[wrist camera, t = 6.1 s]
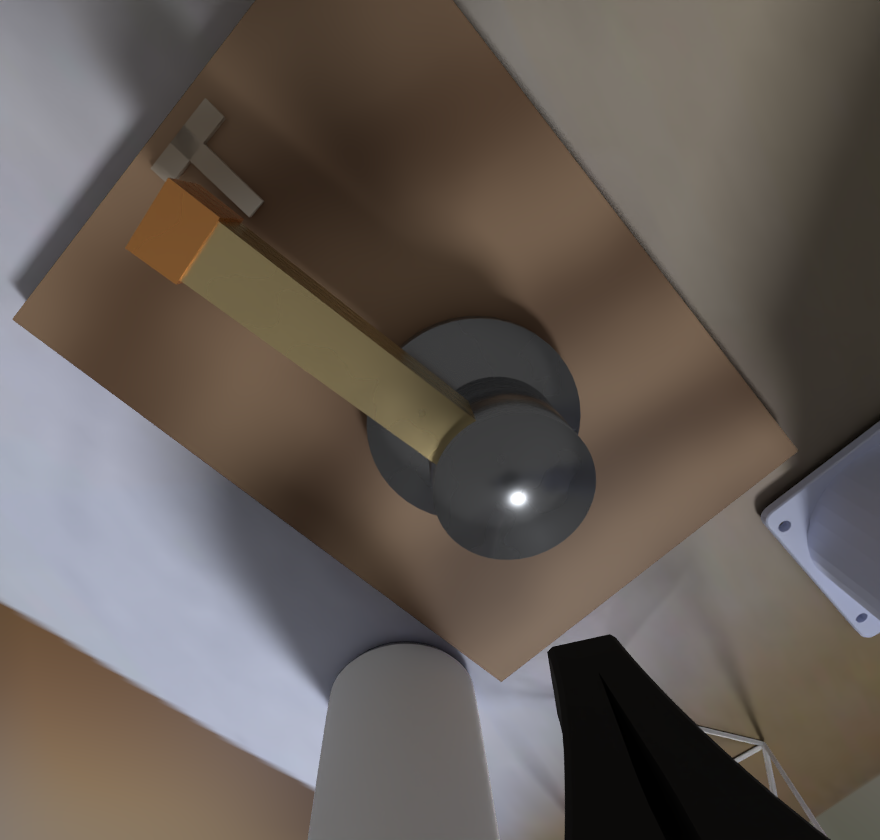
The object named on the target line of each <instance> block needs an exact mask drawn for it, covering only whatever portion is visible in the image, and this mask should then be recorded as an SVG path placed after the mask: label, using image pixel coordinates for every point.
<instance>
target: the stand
mask: <svg viewBox="0 0 880 840" xmlns="http://www.w3.org/2000/svg"><path fill="white" fill-rule="evenodd" d="M167 178H173V179H177V180H182V181H186V182H191V183H196V184H200V185H201V186H203V187H204V188H205V189H206V190H208V191H209V192H210V193H211V194H213V195H214V196H215V197H217V198H218V199H219V200H220V201H222V202H223V203H224V204H225V205H227V206H228V207H229V208H230V209H232V210H233V211H234V212H236V213H237V214H238V215H239V216H241V217H242V218H243V221H242V222H241V223H242V224H243V225H244V226H246V227H247V228H248V229H250V230H251V231H252V232H253V233H255V234H256V235H257V236H259V237H260V238H261V239H262V240H264V241H265V242H266V243H267V244H269V245H270V246H271V247H273V248H274V249H275V250H276V251H278V252H279V253H280V254H281V255H283V256H284V257H285V258H287V259H288V260H289V261H290V262H292V263H293V264H294V265H296V266H297V267H298V268H299V269H301V270H302V271H303V272H304V273H306V274H307V275H308V276H310V277H311V278H312V279H313V280H315V281H316V282H317V283H318V284H320V285H321V286H322V287H324V288H325V289H326V290H327V291H329V292H330V293H331V294H332V295H334V296H335V297H336V298H338V299H339V300H340V301H341V302H343V303H344V304H345V305H347V306H348V307H349V308H350V309H352V310H353V311H354V312H355V313H357V314H358V315H359V316H361V317H362V318H363V319H364V320H366V321H367V322H368V323H369V324H371V325H372V326H373V327H375V328H376V329H377V330H378V331H380V332H381V333H382V334H384V335H385V336H386V337H387V338H389V339H390V340H391V341H392V342H394V343H395V344H396V345H398V346H400V345H402V344H403V343H404V342H405V341H407V340H408V339H409V338H410V337H412V336H413V335H415V334H416V333H418V332H419V331H421V330H423V329H425V328H427V327H429V326H431V325H433V324H435V323H438V322H441V321H445V320H448V319H452V318H457V317H463V316H488V317H496V318H500V319H504V320H508V321H511V322H514V323H516V324H519V325H521V326H523V327H525V328H527V329H528V330H530V331H532V332H534V333H535V334H536V335H537V336H539V337H540V338H541V339H543V340H544V341H545V342H547V343H548V344H549V345H550V346H551V347H552V348H553V349H554V350H555V351H556V352H557V353H558V354H559V355H560V357H561V358H562V359H563V361H564V362H565V363H566V365H567V367H568V369H569V370H570V372H571V374H572V376H573V379H574V381H575V384H576V387H577V390H578V395H579V400H580V412H581V417H580V429H579V433H578V436H579V437H580V438H581V440H582V441H583V442H584V443H585V445H586V446H587V448H588V450H589V452H590V454H591V456H592V459H593V462H594V466H595V471H596V488H595V494H594V498H593V502H592V504H591V507H590V509H589V511H588V513H587V515H586V517H585V518H584V520H583V521H582V523H581V524H580V525H579V527H578V528H577V529H576V530H575V531H574V532H573V533H572V534H571V535H570V536H569V537H568V538H566V539H565V540H564V541H563V542H561V543H560V544H558V545H557V546H555V547H553V548H551V549H550V550H548V551H546V552H543V553H541V554H538V555H535V556H532V557H528V558H523V559H515V560H498V559H492V558H487V557H483V556H480V555H477V554H475V553H472V552H470V551H468V550H467V549H465V548H463V547H462V546H460V545H459V544H458V543H456V542H455V541H454V540H453V539H452V538H451V537H450V536H449V535H448V534H447V532H446V531H445V530H444V528H443V527H442V525H441V523H440V521H439V519H438V516H437V515H433V514H430V513H428V512H425V511H423V510H421V509H419V508H417V507H415V506H413V505H412V504H410V503H408V502H407V501H406V500H404V499H403V498H402V497H401V496H399V495H398V494H397V493H396V492H395V491H394V490H393V489H392V488H391V487H390V486H389V485H388V483H387V482H386V481H385V479H384V478H383V477H382V475H381V474H380V472H379V470H378V468H377V466H376V465H375V462H374V460H373V457H372V455H371V452H370V448H369V443H368V438H367V415H366V414H365V413H363V412H362V411H361V410H359V409H358V408H357V407H355V406H354V405H352V404H351V403H350V402H348V401H347V400H345V399H344V398H343V397H341V396H340V395H338V394H337V393H336V392H334V391H333V390H331V389H330V388H329V387H327V386H326V385H325V384H323V383H322V382H320V381H319V380H318V379H316V378H315V377H313V376H312V375H311V374H309V373H308V372H306V371H305V370H304V369H302V368H301V367H300V366H298V365H297V364H295V363H294V362H293V361H291V360H290V359H288V358H287V357H286V356H284V355H283V354H281V353H280V352H279V351H277V350H276V349H274V348H273V347H272V346H270V345H269V344H268V343H266V342H265V341H263V340H262V339H261V338H259V337H258V336H256V335H255V334H254V333H252V332H251V331H249V330H248V329H247V328H245V327H244V326H243V325H241V324H240V323H238V322H237V321H236V320H234V319H233V318H231V317H230V316H229V315H227V314H226V313H224V312H223V311H222V310H220V309H219V308H217V307H216V306H215V305H213V304H212V303H211V302H209V301H208V300H206V299H205V298H204V297H202V296H201V295H199V294H198V293H197V292H195V291H194V290H192V289H191V288H190V287H188V286H187V285H186V284H184V283H180V284H174V283H173V282H172V281H170V280H169V279H167V278H166V277H165V276H163V275H162V274H160V273H159V272H158V271H156V270H155V269H153V268H152V267H151V266H149V265H148V264H146V263H145V262H144V261H142V260H141V259H139V258H138V257H137V256H135V255H134V254H132V253H131V252H130V251H128V250H127V249H125V247H126V246H127V244H128V242H129V241H130V239H131V237H132V236H133V234H134V232H135V231H136V229H137V228H138V226H139V224H140V223H141V221H142V219H143V218H144V216H145V214H146V213H147V211H148V210H149V208H150V206H151V205H152V203H153V201H154V200H155V198H156V196H157V195H158V193H159V192H160V190H161V188H162V187H163V185H164V183H165V182H166V180H167ZM12 320H14V321H15V322H16V323H18V324H19V325H20V326H22V327H23V328H25V329H26V330H27V331H29V332H30V333H31V334H33V335H34V336H35V337H37V338H38V339H39V340H41V341H42V342H43V343H45V344H46V345H47V346H49V347H50V348H51V349H53V350H54V351H56V352H57V353H58V354H60V355H61V356H62V357H64V358H65V359H66V360H68V361H69V362H70V363H72V364H73V365H74V366H76V367H77V368H78V369H80V370H81V371H83V372H84V373H85V374H87V375H88V376H89V377H91V378H92V379H93V380H95V381H96V382H97V383H99V384H100V385H101V386H103V387H104V388H105V389H107V390H108V391H109V392H111V393H112V394H114V395H115V396H116V397H118V398H119V399H120V400H122V401H123V402H124V403H126V404H127V405H128V406H130V407H131V408H132V409H134V410H135V411H136V412H138V413H139V414H140V415H142V416H143V417H145V418H146V419H147V420H149V421H150V422H151V423H153V424H154V425H155V426H157V427H158V428H159V429H161V430H162V431H163V432H165V433H166V434H167V435H169V436H170V437H172V438H173V439H174V440H176V441H177V442H178V443H180V444H181V445H182V446H184V447H185V448H186V449H188V450H189V451H190V452H192V453H193V454H194V455H196V456H197V457H198V458H200V459H201V460H203V461H204V462H205V463H207V464H208V465H209V466H211V467H212V468H213V469H215V470H216V471H217V472H219V473H220V474H221V475H223V476H224V477H225V478H227V479H228V480H230V481H231V482H232V483H234V484H235V485H236V486H238V487H239V488H240V489H242V490H243V491H244V492H246V493H247V494H248V495H250V496H251V497H252V498H254V499H255V500H256V501H258V502H259V503H261V504H262V505H263V506H265V507H266V508H267V509H269V510H270V511H271V512H273V513H274V514H275V515H277V516H278V517H279V518H281V519H282V520H283V521H285V522H286V523H287V524H289V525H290V526H292V527H293V528H294V529H296V530H297V531H298V532H300V533H301V534H302V535H304V536H305V537H306V538H308V539H309V540H310V541H312V542H313V543H314V544H316V545H317V546H319V547H320V548H321V549H323V550H324V551H325V552H327V553H328V554H329V555H331V556H332V557H333V558H335V559H336V560H337V561H339V562H340V563H341V564H343V565H344V566H345V567H347V568H348V569H350V570H351V571H352V572H354V573H355V574H356V575H358V576H359V577H360V578H362V579H363V580H364V581H366V582H367V583H368V584H370V585H371V586H372V587H374V588H375V589H377V590H378V591H379V592H381V593H382V594H383V595H385V596H386V597H387V598H389V599H390V600H391V601H393V602H394V603H395V604H397V605H398V606H399V607H401V608H402V609H403V610H405V611H406V612H408V613H409V614H410V615H412V616H413V617H414V618H416V619H417V620H418V621H420V622H421V623H422V624H424V625H425V626H426V627H428V628H429V629H430V630H432V631H433V632H434V633H436V634H437V635H439V636H440V637H441V638H443V639H444V640H445V641H447V642H448V643H449V644H451V645H452V646H453V647H455V648H456V649H457V650H459V651H460V652H461V653H463V654H464V655H466V656H467V657H468V658H470V659H471V660H472V661H474V662H475V663H476V664H478V665H479V666H480V667H482V668H483V669H484V670H486V671H487V672H488V673H490V674H491V675H492V676H494V677H495V678H497V679H498V680H499V681H501V682H502V681H503V680H504V679H506V678H507V677H508V676H510V675H511V674H512V673H513V672H515V671H516V670H517V669H519V668H520V667H521V666H522V665H524V664H525V663H526V662H528V661H529V660H530V659H531V658H533V657H534V656H535V655H537V654H538V653H539V652H540V651H542V650H543V649H544V648H546V647H547V646H548V645H549V644H551V643H552V642H553V641H555V640H556V639H557V638H558V637H560V636H561V635H562V634H564V633H565V632H566V631H567V630H569V629H570V628H571V627H573V626H574V625H575V624H577V623H578V622H579V621H580V620H582V619H583V618H584V617H586V616H587V615H588V614H589V613H591V612H592V611H593V610H595V609H596V608H597V607H598V606H600V605H601V604H602V603H604V602H605V601H606V600H607V599H609V598H610V597H611V596H613V595H614V594H615V593H616V592H618V591H619V590H620V589H622V588H623V587H624V586H625V585H627V584H628V583H629V582H631V581H632V580H633V579H634V578H636V577H637V576H638V575H640V574H641V573H642V572H643V571H645V570H646V569H647V568H649V567H650V566H651V565H652V564H654V563H655V562H656V561H658V560H659V559H660V558H661V557H663V556H664V555H665V554H667V553H668V552H669V551H670V550H672V549H673V548H674V547H676V546H677V545H678V544H679V543H681V542H682V541H683V540H685V539H686V538H687V537H688V536H690V535H691V534H692V533H694V532H695V531H696V530H697V529H699V528H700V527H701V526H703V525H704V524H705V523H706V522H708V521H709V520H710V519H712V518H713V517H714V516H715V515H717V514H718V513H719V512H721V511H722V510H723V509H724V508H726V507H727V506H728V505H730V504H731V503H732V502H733V501H735V500H736V499H737V498H739V497H740V496H741V495H742V494H744V493H745V492H746V491H748V490H749V489H750V488H751V487H753V486H754V485H755V484H757V483H758V482H759V481H760V480H762V479H763V478H764V477H766V476H767V475H768V474H769V473H771V472H772V471H773V470H775V469H776V468H777V467H778V466H780V465H781V464H782V463H784V462H785V461H786V460H787V459H789V458H790V457H791V456H793V455H794V454H795V453H796V452H798V450H797V448H796V447H795V446H794V444H793V443H792V442H791V441H790V439H789V438H788V437H787V435H786V434H785V433H784V431H783V430H782V429H781V428H780V426H779V425H778V424H777V422H776V421H775V420H774V418H773V417H772V416H771V415H770V413H769V412H768V411H767V409H766V408H765V407H764V405H763V404H762V403H761V401H760V400H759V399H758V398H757V396H756V395H755V394H754V392H753V391H752V390H751V388H750V387H749V386H748V385H747V383H746V382H745V381H744V379H743V378H742V377H741V375H740V374H739V373H738V372H737V370H736V369H735V368H734V366H733V365H732V364H731V362H730V361H729V360H728V358H727V357H726V356H725V355H724V353H723V352H722V351H721V349H720V348H719V347H718V345H717V344H716V343H715V342H714V340H713V339H712V338H711V336H710V335H709V334H708V332H707V331H706V330H705V328H704V327H703V326H702V325H701V323H700V322H699V321H698V319H697V318H696V317H695V315H694V314H693V313H692V312H691V310H690V309H689V308H688V306H687V305H686V304H685V302H684V301H683V300H682V299H681V297H680V296H679V295H678V293H677V292H676V291H675V289H674V288H673V287H672V285H671V284H670V283H669V282H668V280H667V279H666V278H665V276H664V275H663V274H662V272H661V271H660V270H659V269H658V267H657V266H656V265H655V263H654V262H653V261H652V259H651V258H650V257H649V255H648V254H647V253H646V252H645V250H644V249H643V248H642V246H641V245H640V244H639V242H638V241H637V240H636V239H635V237H634V236H633V235H632V233H631V232H630V231H629V229H628V228H627V227H626V226H625V224H624V223H623V222H622V220H621V219H620V218H619V216H618V215H617V214H616V212H615V211H614V210H613V209H612V207H611V206H610V205H609V203H608V202H607V201H606V199H605V198H604V197H603V196H602V194H601V193H600V192H599V190H598V189H597V188H596V186H595V185H594V184H593V183H592V181H591V180H590V179H589V177H588V176H587V175H586V173H585V172H584V171H583V169H582V168H581V167H580V166H579V164H578V163H577V162H576V160H575V159H574V158H573V156H572V155H571V154H570V153H569V151H568V150H567V149H566V147H565V146H564V145H563V143H562V142H561V141H560V139H559V138H558V137H557V136H556V134H555V133H554V132H553V130H552V129H551V128H550V126H549V125H548V124H547V123H546V121H545V120H544V119H543V117H542V116H541V115H540V113H539V112H538V111H537V110H536V108H535V107H534V106H533V104H532V103H531V102H530V100H529V99H528V98H527V96H526V95H525V94H524V93H523V91H522V90H521V89H520V87H519V86H518V85H517V83H516V82H515V81H514V80H513V78H512V77H511V76H510V74H509V73H508V72H507V70H506V69H505V68H504V66H503V65H502V64H501V63H500V61H499V60H498V59H497V57H496V56H495V55H494V53H493V52H492V51H491V50H490V48H489V47H488V46H487V44H486V43H485V42H484V40H483V39H482V38H481V37H480V35H479V34H478V33H477V31H476V30H475V29H474V27H473V26H472V25H471V23H470V22H469V21H468V20H467V18H466V17H465V16H464V14H463V13H462V12H461V10H460V9H459V8H458V7H457V5H456V4H455V3H454V1H453V0H255V2H254V3H253V4H252V6H251V7H250V8H249V9H248V11H247V12H246V13H245V15H244V16H243V17H242V19H241V20H240V21H239V23H238V24H237V25H236V27H235V28H234V29H233V30H232V32H231V33H230V34H229V36H228V37H227V38H226V40H225V41H224V42H223V44H222V45H221V46H220V47H219V49H218V50H217V51H216V53H215V54H214V55H213V57H212V58H211V59H210V61H209V62H208V63H207V65H206V66H205V67H204V68H203V70H202V71H201V72H200V74H199V75H198V76H197V78H196V79H195V80H194V82H193V83H192V84H191V86H190V87H189V88H188V89H187V91H186V92H185V93H184V95H183V96H182V97H181V99H180V100H179V101H178V103H177V104H176V105H175V107H174V108H173V109H172V110H171V112H170V113H169V114H168V116H167V117H166V118H165V120H164V121H163V122H162V124H161V125H160V126H159V128H158V129H157V130H156V131H155V133H154V134H153V135H152V137H151V138H150V139H149V141H148V142H147V143H146V145H145V146H144V147H143V148H142V150H141V151H140V152H139V154H138V155H137V156H136V158H135V159H134V160H133V162H132V163H131V164H130V166H129V167H128V168H127V169H126V171H125V172H124V173H123V175H122V176H121V177H120V179H119V180H118V181H117V183H116V184H115V185H114V187H113V188H112V189H111V190H110V192H109V193H108V194H107V196H106V197H105V198H104V200H103V201H102V202H101V204H100V205H99V206H98V208H97V209H96V210H95V211H94V213H93V214H92V215H91V217H90V218H89V219H88V221H87V222H86V223H85V225H84V226H83V227H82V228H81V230H80V231H79V232H78V234H77V235H76V236H75V238H74V239H73V240H72V242H71V243H70V244H69V246H68V247H67V248H66V249H65V251H64V252H63V253H62V255H61V256H60V257H59V259H58V260H57V261H56V263H55V264H54V265H53V267H52V268H51V269H50V270H49V272H48V273H47V274H46V276H45V277H44V278H43V280H42V281H41V282H40V284H39V285H38V286H37V288H36V289H35V290H34V291H33V293H32V294H31V295H30V297H29V298H28V299H27V301H26V302H25V303H24V305H23V306H22V307H21V309H20V310H19V311H18V312H17V314H16V315H15V316H14V318H13V319H12Z"/></svg>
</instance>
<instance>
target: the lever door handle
mask: <svg viewBox="0 0 880 840" xmlns="http://www.w3.org/2000/svg"><path fill="white" fill-rule="evenodd" d="M242 221H243V218H242V217H241V216H239V215H238V214H237V213H236V212H234V211H233V210H232V209H230V208H229V207H228V206H227V205H225V204H224V203H223V202H222V201H220V200H219V199H218V198H217V197H215V196H214V195H213V194H211V193H210V192H209V191H208V190H206V189H205V188H204V187H203V186H201V185H200V184H196V183H191V182H186V181H182V180H177V179H173V178H167V180H166V182H165V183H164V185H163V187H162V188H161V190H160V192H159V193H158V195H157V196H156V198H155V200H154V201H153V203H152V205H151V206H150V208H149V210H148V211H147V213H146V214H145V216H144V218H143V219H142V221H141V223H140V224H139V226H138V228H137V229H136V231H135V232H134V234H133V236H132V237H131V239H130V241H129V242H128V244H127V246H126V247H125V249H127V250H128V251H130V252H131V253H132V254H134V255H135V256H137V257H138V258H139V259H141V260H142V261H144V262H145V263H146V264H148V265H149V266H151V267H152V268H153V269H155V270H156V271H158V272H159V273H160V274H162V275H163V276H165V277H166V278H167V279H169V280H170V281H172V282H173V283H174V284H180V283H184V284H186V285H187V286H188V287H190V288H191V289H192V290H194V291H195V292H197V293H198V294H199V295H201V296H202V297H204V298H205V299H206V300H208V301H209V302H211V303H212V304H213V305H215V306H216V307H217V308H219V309H220V310H222V311H223V312H224V313H226V314H227V315H229V316H230V317H231V318H233V319H234V320H236V321H237V322H238V323H240V324H241V325H243V326H244V327H245V328H247V329H248V330H249V331H251V332H252V333H254V334H255V335H256V336H258V337H259V338H261V339H262V340H263V341H265V342H266V343H268V344H269V345H270V346H272V347H273V348H274V349H276V350H277V351H279V352H280V353H281V354H283V355H284V356H286V357H287V358H288V359H290V360H291V361H293V362H294V363H295V364H297V365H298V366H300V367H301V368H302V369H304V370H305V371H306V372H308V373H309V374H311V375H312V376H313V377H315V378H316V379H318V380H319V381H320V382H322V383H323V384H325V385H326V386H327V387H329V388H330V389H331V390H333V391H334V392H336V393H337V394H338V395H340V396H341V397H343V398H344V399H345V400H347V401H348V402H350V403H351V404H352V405H354V406H355V407H357V408H358V409H359V410H361V411H362V412H363V413H365V414H366V415H367V438H368V443H369V448H370V452H371V455H372V457H373V460H374V462H375V465H376V466H377V468H378V470H379V472H380V474H381V475H382V477H383V478H384V479H385V481H386V482H387V483H388V485H389V486H390V487H391V488H392V489H393V490H394V491H395V492H396V493H397V494H398V495H399V496H401V497H402V498H403V499H404V500H406V501H407V502H408V503H410V504H412V505H413V506H415V507H417V508H419V509H421V510H423V511H425V512H428V513H430V514H433V515H437V516H438V519H439V521H440V523H441V525H442V527H443V528H444V530H445V531H446V532H447V534H448V535H449V536H450V537H451V538H452V539H453V540H454V541H455V542H456V543H458V544H459V545H460V546H462V547H463V548H465V549H467V550H468V551H470V552H472V553H475V554H477V555H480V556H483V557H487V558H492V559H498V560H515V559H523V558H528V557H532V556H535V555H538V554H541V553H543V552H546V551H548V550H550V549H551V548H553V547H555V546H557V545H558V544H560V543H561V542H563V541H564V540H565V539H566V538H568V537H569V536H570V535H571V534H572V533H573V532H574V531H575V530H576V529H577V528H578V527H579V525H580V524H581V523H582V521H583V520H584V518H585V517H586V515H587V513H588V511H589V509H590V507H591V504H592V502H593V498H594V494H595V488H596V471H595V466H594V462H593V459H592V456H591V454H590V452H589V450H588V448H587V446H586V445H585V443H584V442H583V441H582V440H581V438H580V437H579V436H578V433H579V429H580V417H581V412H580V400H579V395H578V390H577V387H576V384H575V381H574V379H573V376H572V374H571V372H570V370H569V369H568V367H567V365H566V363H565V362H564V361H563V359H562V358H561V357H560V355H559V354H558V353H557V352H556V351H555V350H554V349H553V348H552V347H551V346H550V345H549V344H548V343H547V342H545V341H544V340H543V339H541V338H540V337H539V336H537V335H536V334H535V333H534V332H532V331H530V330H528V329H527V328H525V327H523V326H521V325H519V324H516V323H514V322H511V321H508V320H504V319H500V318H496V317H488V316H463V317H457V318H452V319H448V320H445V321H441V322H438V323H435V324H433V325H431V326H429V327H427V328H425V329H423V330H421V331H419V332H418V333H416V334H415V335H413V336H412V337H410V338H409V339H408V340H407V341H405V342H404V343H403V344H402V345H400V346H398V345H396V344H395V343H394V342H392V341H391V340H390V339H389V338H387V337H386V336H385V335H384V334H382V333H381V332H380V331H378V330H377V329H376V328H375V327H373V326H372V325H371V324H369V323H368V322H367V321H366V320H364V319H363V318H362V317H361V316H359V315H358V314H357V313H355V312H354V311H353V310H352V309H350V308H349V307H348V306H347V305H345V304H344V303H343V302H341V301H340V300H339V299H338V298H336V297H335V296H334V295H332V294H331V293H330V292H329V291H327V290H326V289H325V288H324V287H322V286H321V285H320V284H318V283H317V282H316V281H315V280H313V279H312V278H311V277H310V276H308V275H307V274H306V273H304V272H303V271H302V270H301V269H299V268H298V267H297V266H296V265H294V264H293V263H292V262H290V261H289V260H288V259H287V258H285V257H284V256H283V255H281V254H280V253H279V252H278V251H276V250H275V249H274V248H273V247H271V246H270V245H269V244H267V243H266V242H265V241H264V240H262V239H261V238H260V237H259V236H257V235H256V234H255V233H253V232H252V231H251V230H250V229H248V228H247V227H246V226H244V225H243V224H242V223H241V222H242Z"/></svg>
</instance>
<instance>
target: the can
mask: <svg viewBox="0 0 880 840" xmlns="http://www.w3.org/2000/svg"><path fill="white" fill-rule="evenodd" d="M308 840H500V839H499V833H498V827H497V821H496V815H495V809H494V802H493V796H492V790H491V784H490V778H489V772H488V766H487V760H486V754H485V749H484V743H483V737H482V731H481V725H480V719H479V713H478V708H477V702H476V697H475V691H474V687H473V683H472V680H471V678H470V676H469V674H468V672H467V671H466V669H465V668H464V667H463V666H462V665H461V663H459V662H458V661H457V660H456V659H455V658H453V657H452V656H450V655H449V654H447V653H445V652H444V651H442V650H440V649H438V648H435V647H433V646H430V645H426V644H422V643H415V642H396V643H390V644H385V645H381V646H378V647H376V648H373V649H371V650H369V651H367V652H365V653H363V654H362V655H360V656H359V657H357V658H356V659H354V660H353V661H352V662H350V663H349V664H348V665H347V666H346V667H345V668H344V669H343V670H342V671H341V672H340V674H339V675H338V676H337V678H336V680H335V682H334V684H333V686H332V689H331V693H330V698H329V703H328V709H327V716H326V722H325V728H324V735H323V741H322V748H321V755H320V761H319V768H318V774H317V781H316V788H315V795H314V801H313V808H312V815H311V821H310V828H309V836H308Z"/></svg>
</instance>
